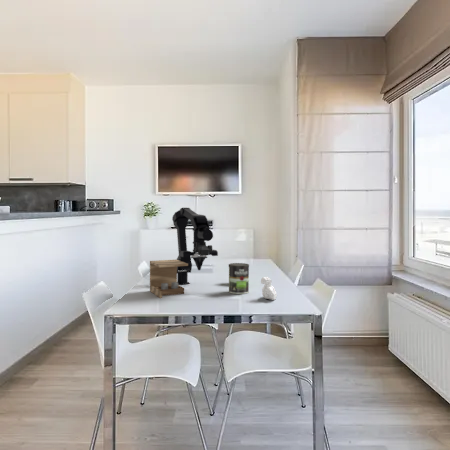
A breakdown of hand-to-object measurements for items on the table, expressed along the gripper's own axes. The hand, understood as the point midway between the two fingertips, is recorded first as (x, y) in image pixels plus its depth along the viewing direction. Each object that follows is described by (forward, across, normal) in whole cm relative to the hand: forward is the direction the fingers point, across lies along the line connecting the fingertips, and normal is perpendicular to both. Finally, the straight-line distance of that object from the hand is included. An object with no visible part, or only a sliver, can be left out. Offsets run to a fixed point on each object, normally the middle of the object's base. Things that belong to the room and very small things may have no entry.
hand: (199, 270), depth 201 cm
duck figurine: (+11, +23, -30) cm, 40 cm away
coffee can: (+11, +17, -12) cm, 23 cm away
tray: (+10, -16, 0) cm, 19 cm away
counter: (+10, -16, 0) cm, 19 cm away
